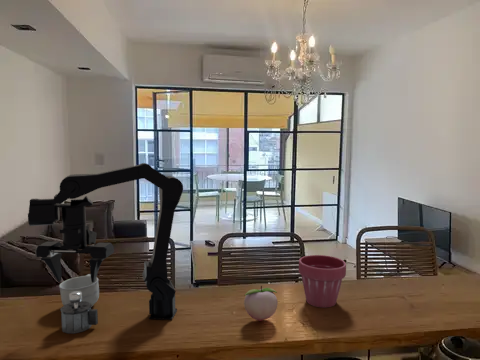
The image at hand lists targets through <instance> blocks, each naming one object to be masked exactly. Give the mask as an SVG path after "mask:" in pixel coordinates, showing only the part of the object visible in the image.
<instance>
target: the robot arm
mask: <svg viewBox="0 0 480 360" xmlns="http://www.w3.org/2000/svg"><path fill="white" fill-rule="evenodd" d="M142 179H144V180H146V181H148V182H150V183H151V184H152V185H154V186H155V187H157V188H158V195H159V196H158V197H159V214H158V219H157V224H156V225H157V226H156V229H155V236H154V243H153V249H152V254H151V257H150V259H149V261H147V260H144V261H143V262H144V264H143V266H144V267H143V268H144V269H143V271H142V273H141V275H142V278H143V282H144V284H145V286H146V289H147V290H148V291H149V292H151V294H150V299H149V300H148V309H149V310H148V311H149V312H148V313H149V317H148V318H149V320H168V321H170V320H173V319H174V317H175V314H177V312H178V309H177V308H176V288H175V287H174V285H173V283H172V281H171V279H169V278H168V265H167V263H168V262H167V258H168V253H169V248H170V239H171V233H172V230H173V229H172V227H173V223H174V217H175V216H174V215H175V212H176V209H177V207H178V205H179V202H180V200H181V198H182V197H181V196H182V195H183V192H184V184H183V183H182V181H181V180H180V179H178V178H177V177H174V176H173V175H164V174H163V173H161V172H160V171H158V170H156V169H155V168H153V167H152V166H151V165H150V164H148V163H145V162H143V163H139V164H137V165H132V166H127V167H122V168H118V169H114V170H113V169H112V170H108V171H104V172H99V173H78V174H77V173H76V174H69V175H66V176H65V177H64V178H63V179H62V180H61V182H60V183H59V191H58V192H57V193H56V194H55V195H53V198H31V199H30V200H29V207H28V213H27V221H28V225H29V227H34V226H35V227H36V226H39V227H40V226H50V225H51V226H53V225H55V224H56V221H60V214H61V228H59V234H62V243H61V242H60V241H45V242H43V243H40V244H39V245H37V246H36V247H35V248H36V249H35V253H34V254H35V257H36V258H40V261H43V262H44V263H45V264H46V265H47V267H48V268H49V270H50V271H51V273H52V274H53V276H54V278H55V279H56V281H57V282H59V283H60V282H61V281H62V276H63V275H62V261H61V260H62V255H63V254H89V255H90V257H91V258H90V259H89V272H90V273H89V274H91V281H92V283H94V282H95V280H96V277H97V276H98V274H99V273H98V272H99V270H100V266H101V265H102V262H103V261H104V260H106V259H107V258H108V257H109V256H111V255H113V254H114V252H115V249H114V248H115V246H114V245H113V244H112V242H97V232H96V231H93V230H90V227H89V225H88V224H87V217H86V216H87V215H86V207H92V206H93V205H94V203H93V201H92V200H91V199H89V197H88V196H87V194H89V193H92V192H95V191H96V190H98V189H101V188H106V187H110V186H115V185H120V184H124V183H127V182H128V183H129V182H133V181H137V180H142ZM82 196H84V197H83V198H82V199H81V198H80V197H82ZM77 198H80V199H77ZM67 200H70V202H67V203H64V202H66V201H67ZM60 208H61V213H60ZM96 242H97V243H96ZM91 244H94V245H91ZM97 278H98V277H97Z"/></svg>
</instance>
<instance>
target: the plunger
mask: <svg viewBox="0 0 480 360" xmlns="http://www.w3.org/2000/svg"><path fill="white" fill-rule="evenodd" d="M69 298H70V302H71V303H74V309H77V308H78V302H80V301H82V292H81V291H74V292H71V293H70V294H69Z"/></svg>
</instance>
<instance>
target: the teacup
mask: <svg viewBox="0 0 480 360" xmlns="http://www.w3.org/2000/svg"><path fill="white" fill-rule="evenodd" d="M58 287H59V291H60V292H59V293H60V299H61V303H62V305H63V306H64V305H67V304H69V303H71V302H70V298H69V294H70V293H71V292H74V291H81V292H82V301H81V302H89V303H90V304H91V305H92V307H93V306H94V305H95V304H96V303H97V301H98V300H99V297H100V287H99V278H98V277H96V280H95V282H94V283H92V281H91V274H90V273H88V274H86V275H81V276H77V277H76V276H75V277H72V278H69V279H66V280H64V281H62V282H61V283H60V284H59V285H58Z"/></svg>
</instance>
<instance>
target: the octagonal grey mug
mask: <svg viewBox="0 0 480 360" xmlns="http://www.w3.org/2000/svg"><path fill="white" fill-rule="evenodd" d="M92 307H93V306H92V305H91V304H90V303H89V302H81V301H80V302H78V308H77V309H74V303H69V304H67V305H63V306H62V307H61V308H60V309H59V310H60V312H61V313H60V314H61V332H63V333H66V334H78V333H83V332H85V331H87V330H89V329H90V328H91V327H92V326H97V325H98V323H99V319H98V317H99V316H98V314H99V313H98V309H97V308H92Z"/></svg>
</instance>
